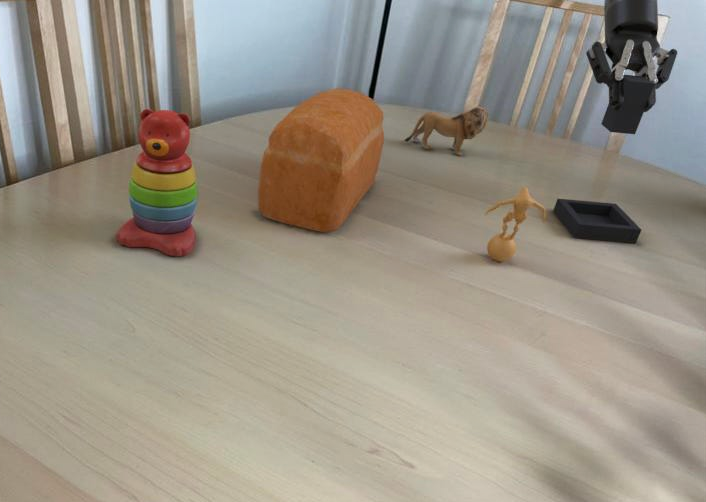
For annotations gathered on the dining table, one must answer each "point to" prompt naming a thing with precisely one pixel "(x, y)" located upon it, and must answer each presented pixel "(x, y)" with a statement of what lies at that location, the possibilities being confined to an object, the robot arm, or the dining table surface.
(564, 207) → the black square tray
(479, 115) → the lion figurine
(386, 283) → the dining table surface
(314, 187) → the bread
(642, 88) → the pad block
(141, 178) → the stacking bear
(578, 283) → the dining table surface
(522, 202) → the figurine
